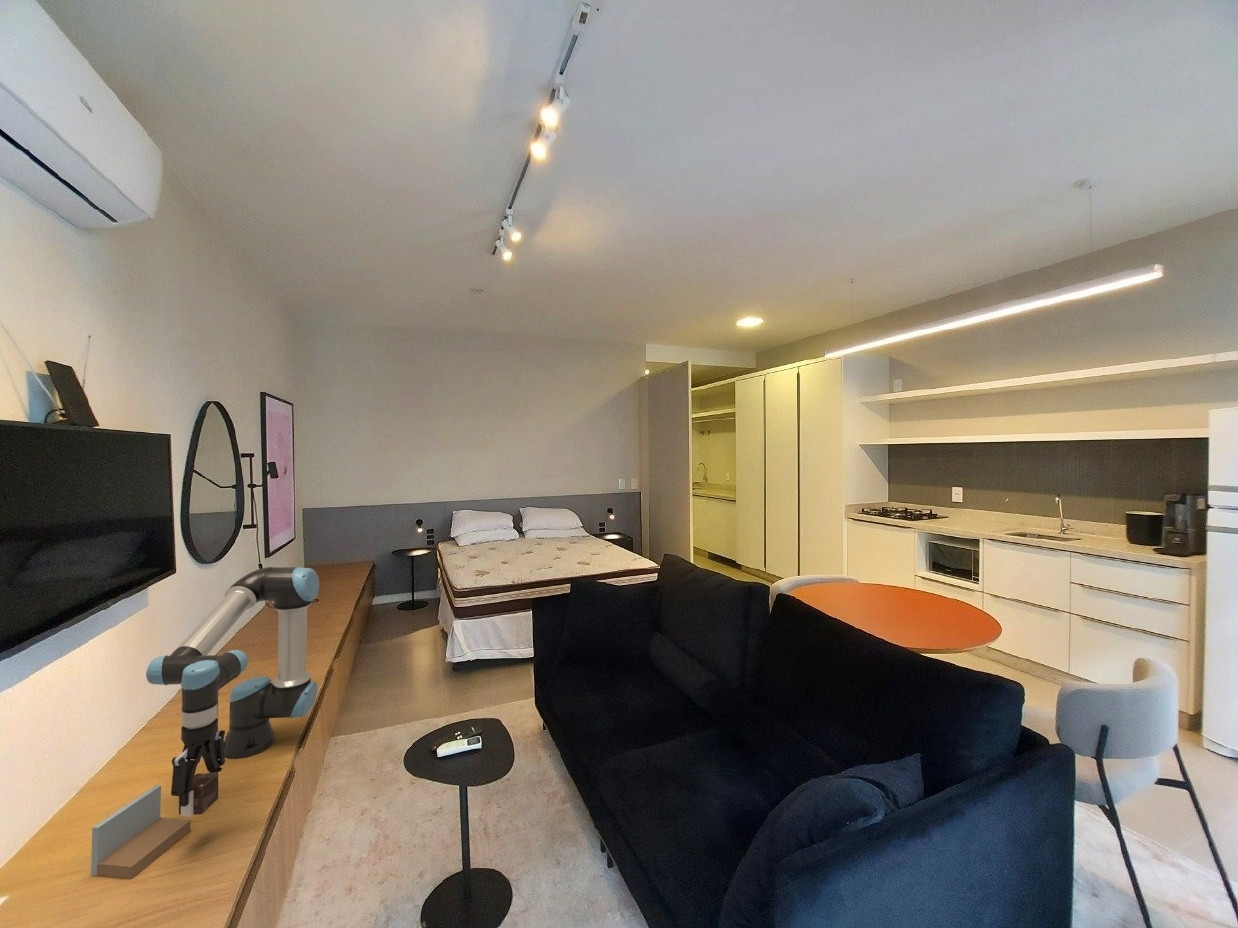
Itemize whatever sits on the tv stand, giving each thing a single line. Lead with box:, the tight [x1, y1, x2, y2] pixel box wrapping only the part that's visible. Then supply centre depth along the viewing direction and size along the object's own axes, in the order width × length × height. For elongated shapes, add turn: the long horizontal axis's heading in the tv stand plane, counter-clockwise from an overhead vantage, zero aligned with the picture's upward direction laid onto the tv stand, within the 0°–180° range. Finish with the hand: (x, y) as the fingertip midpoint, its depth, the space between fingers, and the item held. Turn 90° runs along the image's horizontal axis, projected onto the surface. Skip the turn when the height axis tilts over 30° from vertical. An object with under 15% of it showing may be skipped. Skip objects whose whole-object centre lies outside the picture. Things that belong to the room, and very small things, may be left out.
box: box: [178, 772, 219, 815], centre depth 133 cm, size 6×6×7 cm
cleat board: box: [90, 784, 192, 880], centre depth 131 cm, size 16×10×12 cm, turn 177°
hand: (199, 805), depth 133 cm, fingers closed on box, 6 cm apart
